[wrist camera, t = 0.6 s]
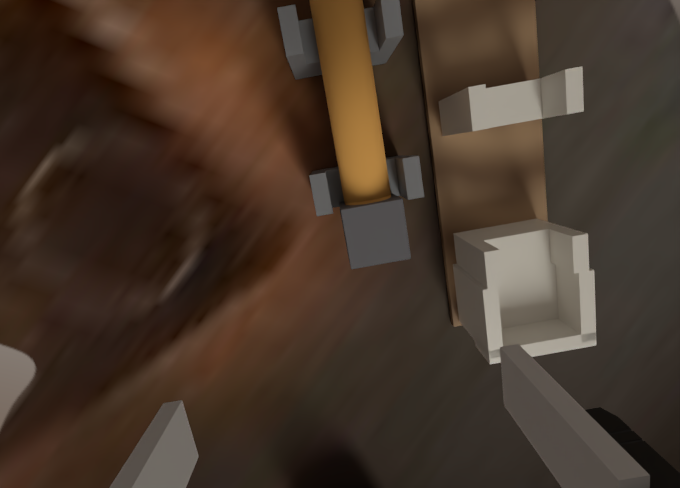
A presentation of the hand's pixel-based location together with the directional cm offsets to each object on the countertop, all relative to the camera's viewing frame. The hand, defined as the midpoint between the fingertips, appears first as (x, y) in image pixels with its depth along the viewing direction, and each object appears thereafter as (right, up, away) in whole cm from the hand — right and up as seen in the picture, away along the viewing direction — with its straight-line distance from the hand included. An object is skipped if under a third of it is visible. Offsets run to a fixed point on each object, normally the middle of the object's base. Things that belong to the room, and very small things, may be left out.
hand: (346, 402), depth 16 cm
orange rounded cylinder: (+1, +16, +15) cm, 21 cm away
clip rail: (+13, +14, +21) cm, 28 cm away
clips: (+14, +9, +21) cm, 27 cm away
